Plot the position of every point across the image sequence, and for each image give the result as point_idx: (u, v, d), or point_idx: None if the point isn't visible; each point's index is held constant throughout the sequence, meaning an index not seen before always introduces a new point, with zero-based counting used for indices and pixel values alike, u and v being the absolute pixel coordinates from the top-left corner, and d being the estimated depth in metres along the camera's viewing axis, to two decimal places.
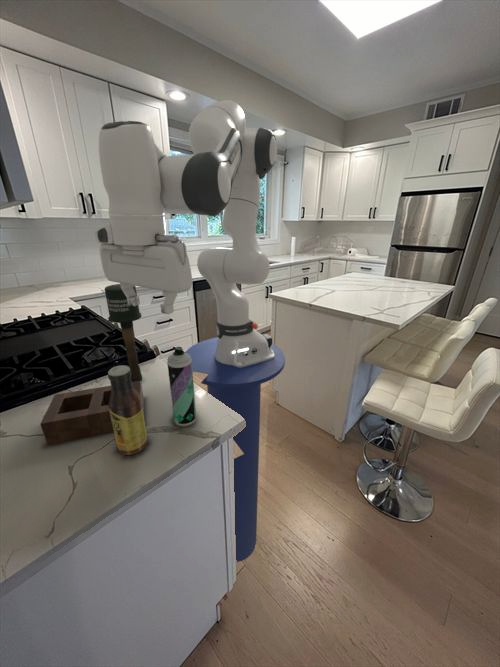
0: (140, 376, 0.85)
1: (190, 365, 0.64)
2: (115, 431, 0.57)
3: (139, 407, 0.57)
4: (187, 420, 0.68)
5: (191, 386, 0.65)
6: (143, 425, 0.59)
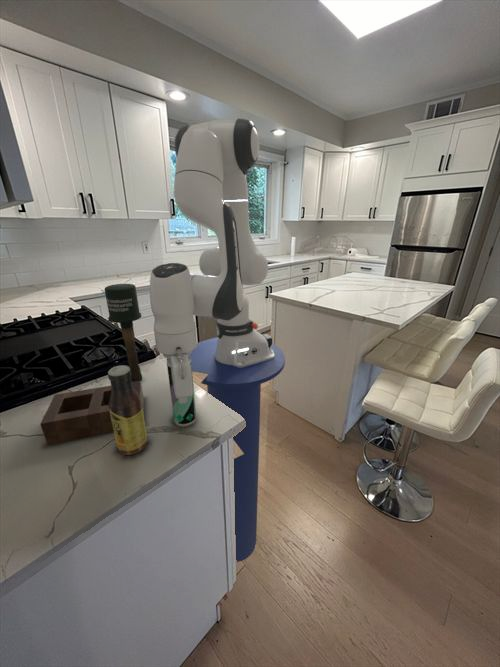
0: (140, 376, 0.85)
1: (190, 365, 0.64)
2: (115, 431, 0.57)
3: (139, 407, 0.57)
4: (187, 420, 0.68)
5: None
6: (143, 425, 0.59)
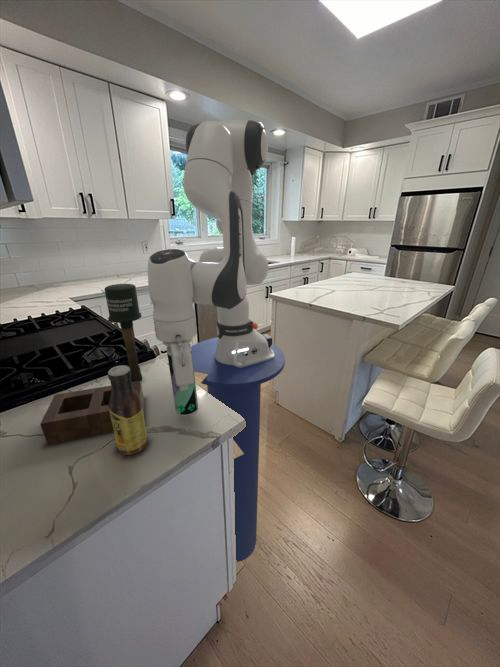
0: (140, 376, 0.85)
1: None
2: (115, 431, 0.57)
3: (139, 407, 0.57)
4: (189, 411, 0.67)
5: None
6: (143, 425, 0.59)
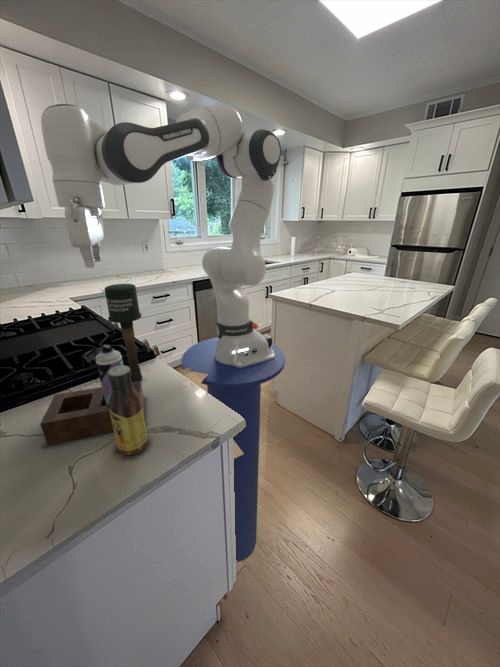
0: (140, 376, 0.85)
1: (119, 362, 0.64)
2: (115, 431, 0.57)
3: (139, 407, 0.57)
4: None
5: None
6: (143, 425, 0.59)
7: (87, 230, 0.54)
